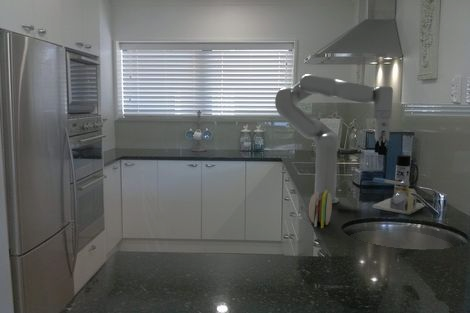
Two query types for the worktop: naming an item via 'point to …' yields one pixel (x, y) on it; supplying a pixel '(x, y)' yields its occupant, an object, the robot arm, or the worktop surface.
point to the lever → (402, 183)
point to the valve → (400, 202)
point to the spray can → (402, 169)
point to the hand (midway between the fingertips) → (380, 153)
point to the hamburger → (320, 208)
